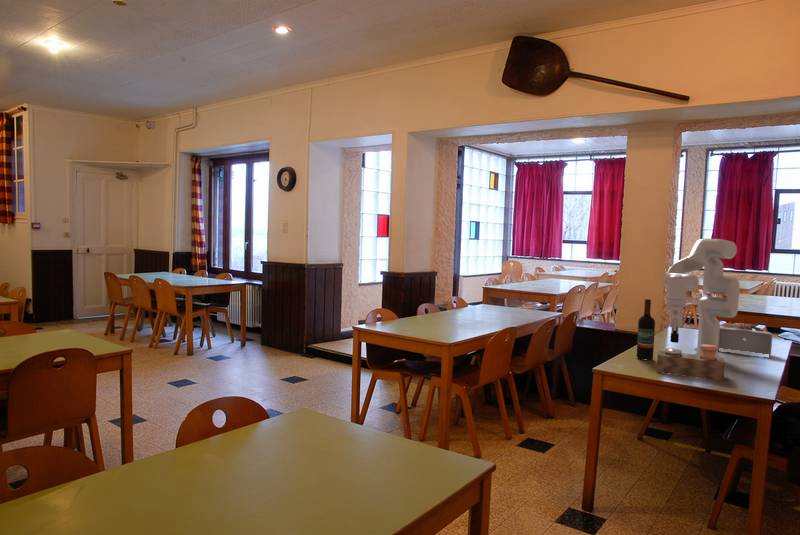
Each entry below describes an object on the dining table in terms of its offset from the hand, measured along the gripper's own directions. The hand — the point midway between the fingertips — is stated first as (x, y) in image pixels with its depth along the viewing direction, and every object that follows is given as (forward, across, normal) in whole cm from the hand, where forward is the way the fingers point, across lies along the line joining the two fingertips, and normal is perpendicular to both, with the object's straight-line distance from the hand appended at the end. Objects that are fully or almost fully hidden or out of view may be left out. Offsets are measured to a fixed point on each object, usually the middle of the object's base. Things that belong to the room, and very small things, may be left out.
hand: (674, 342), depth 244 cm
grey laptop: (+16, +67, -31) cm, 76 cm away
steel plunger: (+12, -1, 0) cm, 12 cm away
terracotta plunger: (+9, -1, -14) cm, 16 cm away
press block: (+14, -1, -7) cm, 15 cm away
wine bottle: (+14, +20, +13) cm, 28 cm away
